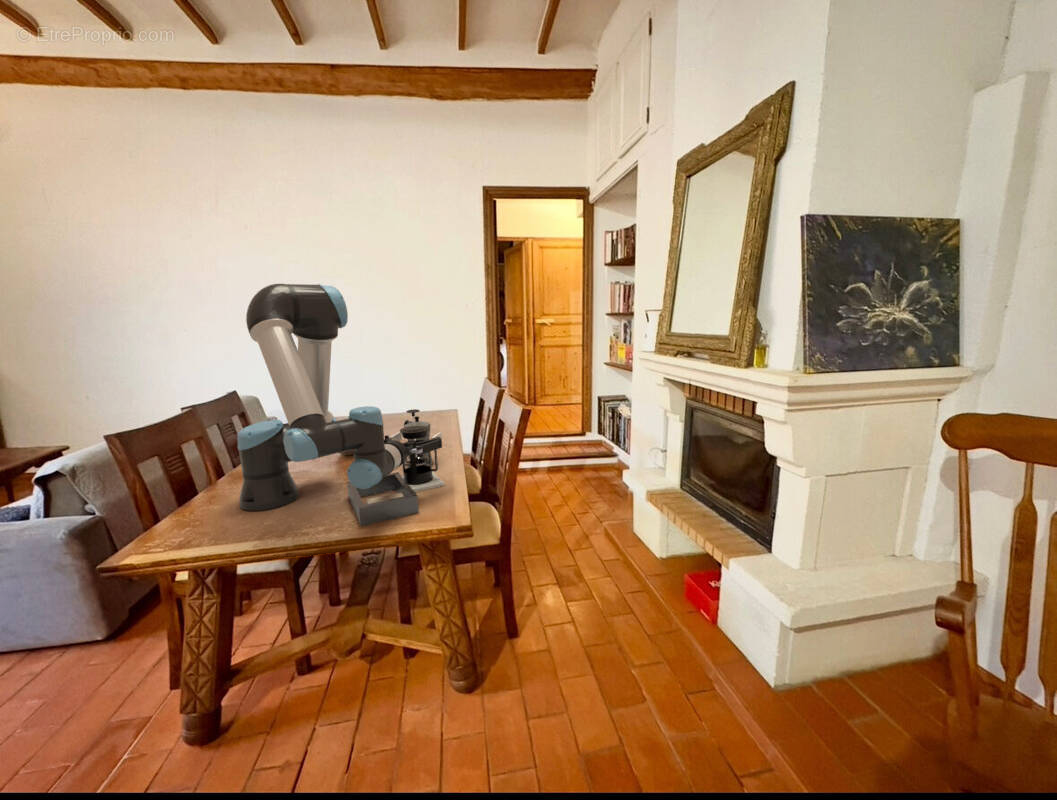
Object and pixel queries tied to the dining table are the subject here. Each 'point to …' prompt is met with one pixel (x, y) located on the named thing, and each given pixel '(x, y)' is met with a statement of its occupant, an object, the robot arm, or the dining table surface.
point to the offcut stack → (383, 498)
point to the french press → (418, 468)
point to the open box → (387, 507)
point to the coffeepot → (419, 423)
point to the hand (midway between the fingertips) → (420, 436)
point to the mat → (428, 484)
